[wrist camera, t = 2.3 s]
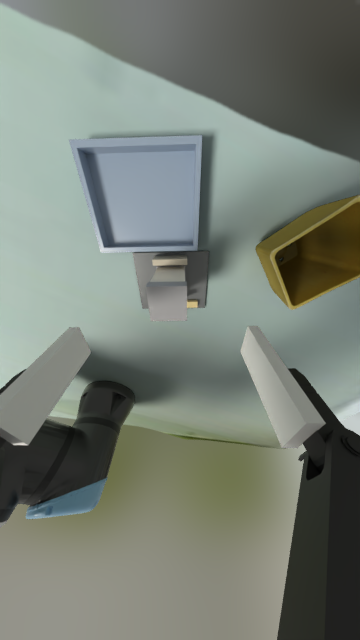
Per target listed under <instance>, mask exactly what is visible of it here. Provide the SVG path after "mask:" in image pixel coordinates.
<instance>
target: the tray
mask: <svg viewBox="0 0 360 640" xmlns="http://www.w3.org/2000/svg"><path fill="white" fill-rule="evenodd" d="M69 142H70V146H71V149H72V153H73V156H74V160H75V163H76V167H77V170H78V174H79V177H80V181H81V184H82V188H83V191H84V195H85V198H86V202H87V205H88V209H89V212H90V216H91V219H92V223H93V226H94V230H95V233H96V237H97V240H98V244H99V247H100V251H101V252H149V251H198V227H199V203H200V178H201V153H202V135H191V136H161V137H131V138H101V139H71V140H69Z"/></svg>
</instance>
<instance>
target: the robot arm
mask: <svg viewBox="0 0 360 640" xmlns="http://www.w3.org/2000/svg"><path fill="white" fill-rule="evenodd" d="M240 352H241V354H242V356H243V359H244V361H245V363H246V366H247V368H248V370H249V373H250V375H251V377H252V380H253V382H254V384H255V386H256V389H257V391H258V393H259V396H260V398H261V400H262V403H263V405H264V407H265V409H266V412H267V414H268V416H269V419H270V421H271V423H272V426H273V428H274V430H275V433H276V435H277V437H278V439H279V442H280V444H281V446H282V448H298V447H299V446H300V445H302V444H303V445H304V446H305V448H306V450H307V451H306V452H304V453H303V454H302V455H300V457H299V460H300V461H302V460H303V459H304V464H303V470H302V477H301V483H300V490H299V497H298V503H297V511H296V518H295V523H294V530H293V537H292V543H291V550H290V557H289V564H288V570H287V577H286V584H285V590H284V597H283V604H282V610H281V617H280V623H279V630H278V637H277V640H360V436H359V435H358V434H356V433H354V432H353V431H350V430H348V429H346V428H345V427H344V426H343V425H342V424H341V423H340V421H339V420H338V419H337V418H336V416H335V415H334V414H333V412H332V411H331V410H330V409H329V407H328V406H327V405H326V403H325V402H324V401H323V399H322V398H321V397H320V396H319V394H317V392H316V390H315V389H314V388H313V386H311V384H310V383H309V381H308V380H307V379H306V377H305V376H304V375H303V374H301V373H300V372H299V371H298V370H296V369H295V368H292V369H287V367H286V366H285V364H284V363H283V361H282V360H281V358H280V357H279V356H278V354H277V353H276V351H275V350H274V348H273V347H272V346H271V344H270V343H269V341H268V340H267V338H266V337H265V336H264V334H263V333H262V331H261V330H260V328H259V327H258V326H248V327H247V330H246V334H245V337H244V341H243V344H242V348H241V351H240ZM90 354H91V350H90V348H89V346H88V344H87V342H86V340H85V338H84V336H83V334H82V332H81V330H80V328H79V327H70V328H69V329H68V330H67V331H66V332H64V333H63V334H62V335H61V336H60V337H59V338H58V339H57V340H56V341H55V342H54V343H53V344H52V345H51V346H50V347H49V348H48V349H47V350H46V351H45V352H44V353H43V354H42V355H41V356H40V357H39V358H38V359H37V360H36V361H35V362H34V363H33V364H31V365H30V366H29V367H28V368H27V369H25V370H23V371H22V372H20V373H19V374H17V375H16V376H14V377H13V378H12V379H11V380H10V381H9V382H8V383H7V384H6V386H4V387H2V388H1V389H0V527H1V526H3V525H4V524H5V523H6V522H7V520H8V519H9V517H10V515H11V514H12V512H13V510H14V509H15V507H16V506H17V504H27V505H30V507H29V508H28V509H27V514H26V518H27V519H34V518H45V517H54V516H63V515H71V514H78V513H85V512H89V511H91V510H92V509H93V508H94V507H95V506H96V505H97V504H98V502H99V499H100V497H101V494H102V491H103V488H104V485H105V482H106V480H107V475H108V472H109V468H110V464H111V461H112V457H113V454H114V450H115V447H116V443H117V439H118V436H119V433H120V429H121V426H122V425H123V423H124V421H125V420H126V418H127V416H128V415H129V413H130V411H131V410H132V408H133V405H134V401H135V396H134V394H133V392H132V391H131V390H130V389H128V388H127V387H125V386H123V385H121V384H118V383H114V382H108V381H99V382H94V383H91V384H89V385H88V386H87V387H86V388H85V390H84V392H83V394H82V396H81V400H80V405H79V410H78V415H77V418H76V421H75V423H74V425H73V426H72V427H71V426H68V425H65V424H62V423H59V422H56V421H53V420H50V419H47V417H48V415H49V414H50V413H51V411H52V410H53V408H54V407H55V405H56V404H57V402H58V401H59V399H60V398H61V396H62V395H63V393H64V392H65V390H66V389H67V387H68V386H69V385H70V383H71V382H72V380H73V379H74V377H75V376H76V374H77V373H78V371H79V370H80V368H81V367H82V365H83V364H84V362H85V361H86V359H87V358H88V357H89V355H90Z"/></svg>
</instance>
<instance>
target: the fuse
mask: <svg viewBox="0 0 360 640" xmlns="http://www.w3.org/2000/svg"><path fill="white" fill-rule="evenodd" d="M156 268H157V269H156V271H155V273H154V275H153V277H152V279H151V281H150V282H148V283H147V285H146V293H147V299H148V306H149V312H150V319H151V321H187V281H185V265H163V266H156Z"/></svg>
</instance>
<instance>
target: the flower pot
mask: <svg viewBox="0 0 360 640" xmlns="http://www.w3.org/2000/svg"><path fill="white" fill-rule="evenodd" d="M289 244H290V246H287V245H289ZM256 252H257V255H258V257H259V259H260V261H261V264H262V266H263V269H264V271H265V273H266V276H267V278H268V281H269V284H270V286H271V288H272V289H273V291H274V292H275V293H276V294H277V296H278V297H279V298H280V299H281V300H282V301H283V302H284V303H285V304H286V305H287V306H288V308H289V309H291V310H293V309H296V308H298V307H300V306H302V305H304V304H306V303H308V302H310V301H312V300H314V299H316V298H318V297H320V296H321V295H323V294H325V293H327V292H329V291H332V290H334V289H336V288H338V287H340V286H342V285H344V284H347V283H349V282H351V281H353V280H355V279H357V278H359V277H360V195H357V196H353V197H349V198H346V199H342V200H339V201H335V202H332V203H329V204H325V205H322V206H319V207H316V208H314V209H312V210H310V211H308V212H306V213H305V214H303V215H301V216H300V217H298V218H297V219H295V220H294V221H292V222H291V223H289V224H288V225H286V226H285V227H284V228H282V229H281V230H279V231H278V232H276V233H275V234H273V235H272V236H270V237H269V238H267V239H266V240H264V241H262V242H261V243H259V244H258V245H257V246H256ZM280 258H283V260H282V261H280Z"/></svg>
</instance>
